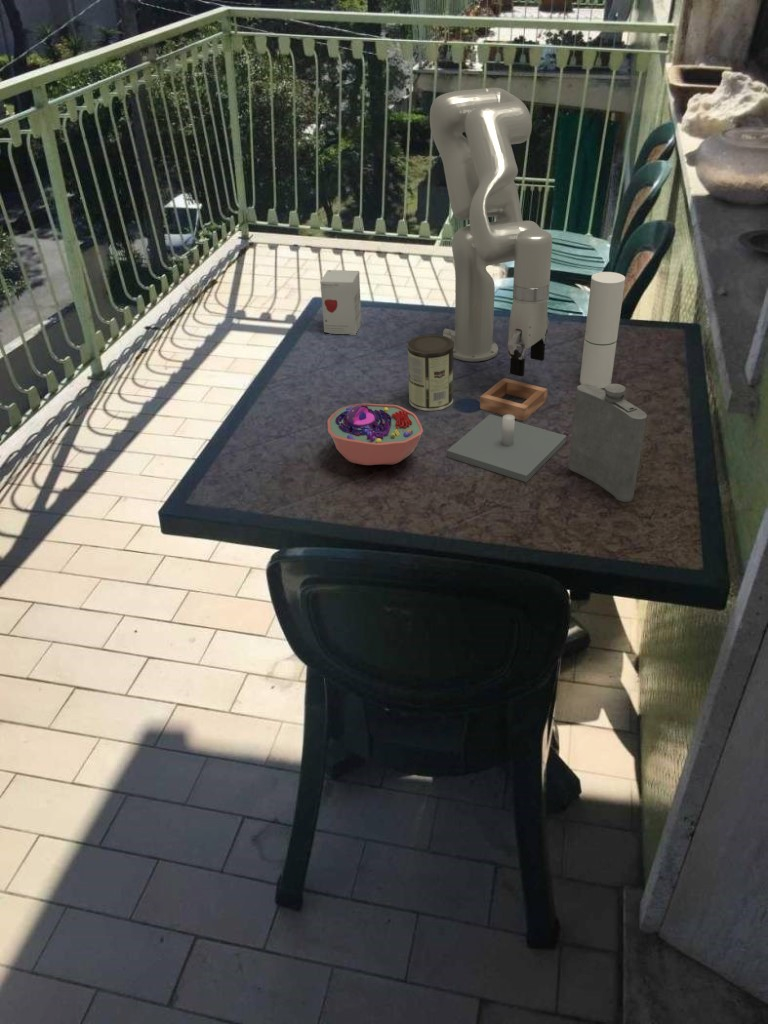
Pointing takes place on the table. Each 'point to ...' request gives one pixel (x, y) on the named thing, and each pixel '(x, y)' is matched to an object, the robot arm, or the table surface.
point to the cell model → (374, 433)
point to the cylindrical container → (602, 328)
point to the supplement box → (341, 301)
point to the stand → (507, 447)
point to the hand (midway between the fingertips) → (527, 367)
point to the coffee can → (430, 372)
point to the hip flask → (607, 439)
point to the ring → (501, 406)
